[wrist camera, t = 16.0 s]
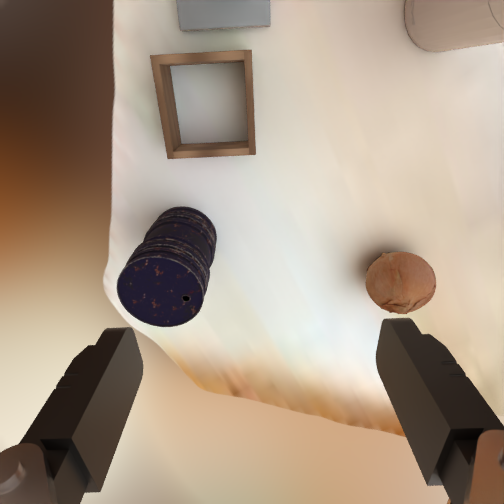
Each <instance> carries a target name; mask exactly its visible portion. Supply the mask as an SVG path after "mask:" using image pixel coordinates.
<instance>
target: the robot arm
mask: <svg viewBox="0 0 504 504" xmlns="http://www.w3.org/2000/svg"><path fill="white" fill-rule="evenodd" d="M405 24H406V28H407V31H408V34H409V36H410V37H411V39H412V40H413V42H414V43H415V44H416V45H417V46H419V47H420V48H422V49H424V50H426V51H431V52H441V51H448V50H455V49H463V48H469V47H476V46H482V45H489V44H495V43H502V42H504V0H406V4H405ZM376 365H377V369H378V373H379V375H380V378H381V380H382V382H383V384H384V387H385V389H386V391H387V394H388V396H389V398H390V401H391V403H392V405H393V408H394V410H395V412H396V415H397V417H398V419H399V421H400V424H401V426H402V428H403V431H404V433H405V435H406V438H407V440H408V442H409V445H410V447H411V449H412V451H413V454H414V456H415V458H416V461H417V463H418V465H419V468H420V470H421V472H422V475H423V477H424V479H425V481H426V484H427V485H428V486H431V485H432V486H433V485H443V486H444V488H445V490H446V492H447V494H448V497H449V500H448V502H447V504H504V426H503V424H502V423H501V422H500V420H499V419H498V418H497V416H496V415H495V413H494V412H493V411H492V409H491V408H490V407H489V405H488V404H487V402H486V401H485V400H484V398H483V397H482V396H481V394H480V393H479V391H478V390H477V389H476V387H475V386H474V385H473V383H472V382H471V380H470V379H469V378H468V377H466V375H465V372H464V371H463V369H462V368H461V367H460V365H459V364H457V363H456V360H455V358H454V357H453V356H452V354H451V353H450V352H449V350H448V349H447V347H446V346H444V345H443V344H442V343H441V342H439V341H438V340H437V339H435V338H434V337H433V336H431V335H430V334H421V332H420V331H419V329H418V328H417V326H416V325H415V323H414V322H413V320H412V319H410V318H392V319H384V320H383V321H382V325H381V330H380V335H379V340H378V346H377V351H376ZM142 375H143V361H142V357H141V354H140V350H139V347H138V344H137V340H136V337H135V333H134V331H133V329H132V328H130V327H127V328H107V329H105V330H104V331H103V333H102V334H101V336H100V338H99V339H98V341H97V343H96V345H88V346H87V347H86V348H85V349H84V350H83V351H82V352H81V353H79V355H77V356H76V357H75V358H74V359H73V360H72V362H71V364H70V365H69V367H68V368H67V370H66V372H65V374H64V376H62V378H61V379H60V381H59V382H58V384H57V386H56V389H54V390H53V392H52V393H51V395H50V397H49V398H48V400H47V401H46V403H45V404H44V406H43V407H42V409H41V410H40V412H39V414H38V415H37V417H36V418H35V420H34V421H33V423H32V425H31V426H30V428H29V429H28V431H27V432H26V434H25V435H24V437H23V439H22V440H21V441H20V443H19V444H18V445H15V446H12V447H10V448H8V449H6V450H4V451H2V452H0V504H80V502H81V500H82V498H83V495H84V493H85V492H86V493H87V492H100V491H101V489H102V486H103V483H104V481H105V478H106V475H107V473H108V470H109V467H110V464H111V462H112V459H113V456H114V454H115V451H116V448H117V445H118V443H119V440H120V437H121V434H122V431H123V429H124V426H125V424H126V421H127V418H128V415H129V413H130V410H131V407H132V404H133V402H134V399H135V396H136V394H137V391H138V388H139V385H140V383H141V380H142Z"/></svg>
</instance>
